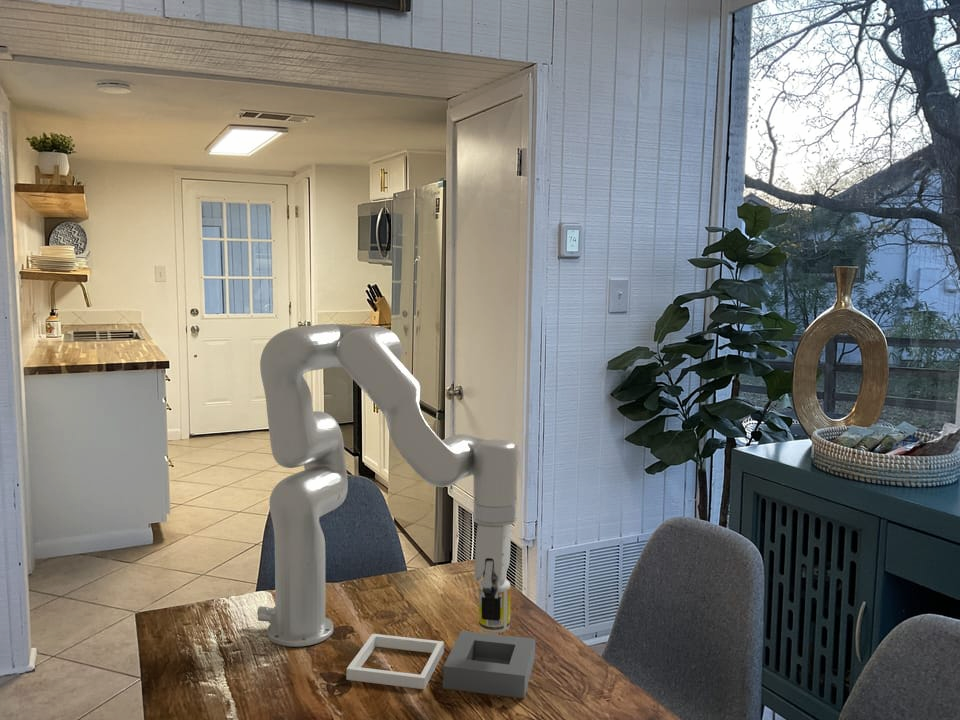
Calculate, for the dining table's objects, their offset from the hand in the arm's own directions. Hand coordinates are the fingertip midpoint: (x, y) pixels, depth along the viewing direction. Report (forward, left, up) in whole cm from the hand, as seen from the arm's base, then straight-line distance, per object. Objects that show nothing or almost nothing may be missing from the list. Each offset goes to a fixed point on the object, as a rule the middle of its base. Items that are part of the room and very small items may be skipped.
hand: (494, 610), depth 142 cm
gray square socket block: (0, 0, -12) cm, 12 cm away
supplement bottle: (0, 0, -3) cm, 3 cm away
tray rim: (-17, -1, -12) cm, 21 cm away
